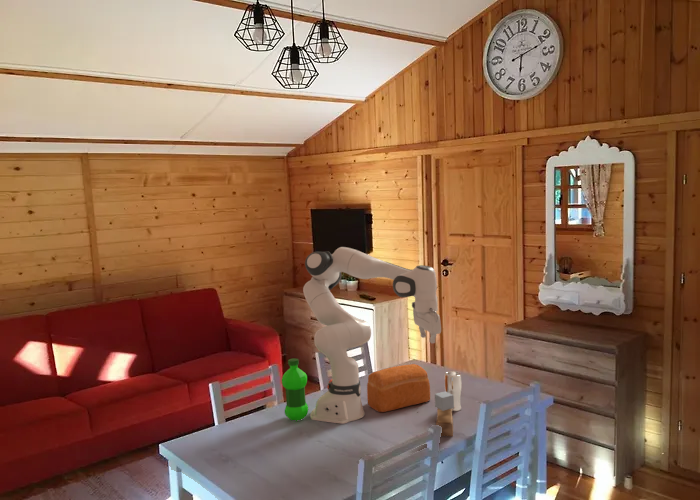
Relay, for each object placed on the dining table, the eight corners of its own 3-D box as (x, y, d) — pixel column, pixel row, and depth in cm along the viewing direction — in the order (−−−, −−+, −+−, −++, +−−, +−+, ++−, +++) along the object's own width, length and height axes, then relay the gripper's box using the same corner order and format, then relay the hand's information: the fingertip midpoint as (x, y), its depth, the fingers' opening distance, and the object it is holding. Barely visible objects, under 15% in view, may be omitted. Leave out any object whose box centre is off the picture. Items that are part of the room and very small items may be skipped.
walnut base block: (436, 436, 222) (436, 423, 221) (437, 429, 227) (437, 416, 227) (452, 436, 220) (452, 423, 220) (453, 430, 226) (453, 417, 226)
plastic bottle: (304, 424, 238) (300, 364, 235) (280, 422, 242) (276, 363, 239) (313, 415, 248) (309, 356, 245) (290, 413, 251) (286, 355, 248)
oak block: (437, 422, 221) (437, 409, 221) (438, 417, 226) (438, 404, 226) (451, 423, 220) (450, 410, 220) (452, 417, 225) (451, 405, 225)
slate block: (435, 406, 224) (434, 393, 223) (446, 403, 226) (445, 391, 226) (442, 410, 220) (442, 397, 219) (453, 408, 222) (453, 395, 221)
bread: (433, 401, 256) (432, 366, 254) (380, 414, 245) (378, 377, 243) (416, 392, 268) (415, 358, 267) (365, 404, 257) (363, 368, 255)
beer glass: (443, 410, 245) (441, 375, 244) (448, 404, 251) (447, 370, 250) (459, 412, 242) (458, 377, 240) (464, 406, 248) (463, 371, 247)
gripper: (444, 310, 228) (445, 345, 229) (424, 301, 247) (425, 333, 249) (429, 312, 226) (430, 347, 228) (410, 302, 246) (411, 335, 247)
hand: (427, 339), depth 239 cm, fingers open, 8 cm apart
